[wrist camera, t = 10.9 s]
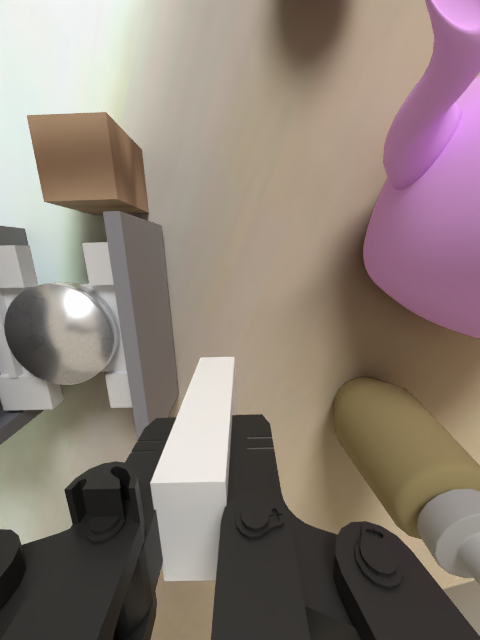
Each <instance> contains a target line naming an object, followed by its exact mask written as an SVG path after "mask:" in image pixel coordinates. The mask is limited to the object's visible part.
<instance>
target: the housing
mask: <svg viewBox="0 0 480 640" xmlns="http://www.w3.org/2000/svg"><path fill="white" fill-rule="evenodd" d="M5 245H23V246H28V242H27V238H26V233H25V229H22V228H14V227H5V226H0V246H5ZM0 375H1V374H0ZM42 411H43V410H5V411H4V410H3V406H2V403H1V399H0V444H2V443H3V442H4V441H5V440H7V439H8V438H9V437H10V436H12V435H13V434H14V433H16V432H17V431H18V430H19V429H21V428H22V427H23V426H24V425H26V424H27V423H28V422H29V421H31V420H32V419H33V418H35V417H36V416H37V415H38V414H40V413H41V412H42Z"/></svg>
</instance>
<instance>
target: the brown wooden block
mask: <svg viewBox="0 0 480 640" xmlns="http://www.w3.org/2000/svg"><path fill="white" fill-rule="evenodd" d="M27 119H28V124H29V129H30V134H31V139H32V144H33V149H34V154H35V159H36V164H37V169H38V174H39V179H40V184H41V189H42V194H43V198H44V202H48V203H51V204H55V205H59V206H63V207H67V208H70V209H74V210H78V211H82V212H85V213H89V214H93V215H95V214H103V212H107V211H121V212H124V213H149V211H148V202H147V193H146V184H145V175H144V166H143V157H142V149H141V148H140V147H139V146H138V145H137V144H136V143H135V142H134V141H133V140H132V139H131V138H130V137H129V136H128V135H127V134H126V133H125V132H124V131H123V130H122V129H121V127H120V126H119V125H118V124H117V123H116V122H115V121H114V120H113V119H112V118H111V117H110V116H109V115H108V114H107V113H106V112H100V113H75V114H50V115H27Z"/></svg>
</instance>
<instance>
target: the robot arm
mask: <svg viewBox="0 0 480 640" xmlns="http://www.w3.org/2000/svg"><path fill="white" fill-rule="evenodd" d="M236 414H237V408H236V382H235V357H206V358H200V360H199V363H198V365H197V368H196V370H195V373H194V375H193V378H192V380H191V383H190V385H189V388H188V390H187V393H186V395H185V398H184V400H183V403H182V405H181V408H180V410H179V413H178V415H177V418H156V419H155V420H153V421H152V422H151V423H150V424H149V425H148V426H146V427H145V428H144V430H143V432H142V434H141V435H140V437H139V439H138V442H137V443H136V444H135V446H134V448H133V450H132V453H131V454H130V455H129V457H128V458H127V460H126V462H125V463H123V462H110V463H104V464H101V465H99V466H96V467H94V468H91V469H89V470H87V471H86V472H84V473H83V474H81V475H80V476H78V477H77V478H75V479H74V480H73V481H72V483H71V484H70V485H69V486H68V487H67V488H66V489H65V494H66V498H67V502H68V507H69V511H70V515H71V519H72V523H73V525H72V526H71V528H70V529H68V530H66V531H63V532H61V533H58V534H55V535H52V536H49V537H46V538H43V539H39V540H36V541H33V542H30V543H27V544H24V545H21V542H20V539H19V536H18V535H17V534H16V533H15V532H13V531H12V530H3V529H0V640H150V639H151V635H152V630H153V626H154V622H155V618H156V607H157V599H156V593H155V590H156V586H157V582H158V578H159V574H160V570H161V566H162V570H163V577H164V581H211V580H216V585H215V597H214V609H213V621H212V633H211V640H480V636H479V635H478V634H477V632H476V631H475V630H474V629H473V627H472V626H471V625H470V624H469V623H468V621H467V620H466V619H465V618H464V616H463V615H462V614H461V612H460V611H459V610H458V609H457V607H456V606H455V605H454V604H453V602H452V601H451V600H450V599H449V597H448V596H447V595H446V593H445V592H444V591H443V590H442V588H441V587H440V586H439V585H438V583H437V582H436V581H435V580H434V578H433V577H432V576H431V575H430V573H429V572H428V571H427V570H426V568H425V567H424V566H423V564H422V563H421V562H420V561H419V559H418V558H417V557H416V556H415V554H414V553H413V552H412V551H411V550H410V549H409V548H408V547H407V546H406V545H405V544H404V543H403V542H402V541H401V540H400V539H399V538H398V537H397V536H396V535H395V534H393V533H391V532H390V531H388V530H387V529H385V528H383V527H382V526H379V525H376V524H372V523H369V522H366V521H364V522H351V523H350V524H348V525H346V526H345V527H343V528H341V530H340V532H339V534H338V535H337V534H333V533H330V532H327V531H324V530H321V529H318V528H315V527H313V526H310V525H308V524H306V523H304V522H303V521H301V520H300V519H298V518H297V517H296V516H295V515H294V514H293V513H292V512H291V511H290V510H289V509H288V507H287V505H286V504H285V502H284V500H283V497H282V493H281V488H280V482H279V476H278V470H277V464H276V458H275V452H274V446H273V440H272V433H271V427H270V424H269V422H268V421H267V420H266V419H265V417H264V416H263V415H262V414H261V415H236Z"/></svg>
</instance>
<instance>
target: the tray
mask: <svg viewBox="0 0 480 640" xmlns="http://www.w3.org/2000/svg"><path fill="white" fill-rule="evenodd" d="M103 217H104V223H105V230H106V237H107V242H95V243H82V246H83V252H84V257H85V263H86V269H87V275H88V280H89V284H79V285H82V286H84V287H86V288H88V289H90V290H92V291H94V292H95V293H96V294H98V295H99V296H100V297H101V298H103V299H104V300H105V301H106V303H107V304H108V305H109V306H110V308H111V309H112V311H113V312H114V314H115V316H116V319H117V321H118V325H119V329H120V343H119V348H118V351H117V353H116V355H115V357H114V359H113V360H112V361H111V363H110V364H109V365H108V366H106V367H105V368H104V369H103V370H102V371H100V372H108V373H106V374H105V378H106V384H107V390H108V395H109V401H110V407H111V408H129V407H132V409H133V416H134V422H135V429H136V436H137V442H138V439H139V437H140V435H141V434H142V432H143V430H144V428H145V427H146V426H148V425H149V424H150V423H151V422H152V421H153V420H155V419H156V418H168V416H169V414H170V411H171V409H172V407H173V405H174V403H175V400H176V398H177V396H178V384H177V374H176V364H175V353H174V343H173V333H172V323H171V313H170V303H169V293H168V283H167V273H166V263H165V253H164V243H163V233H162V226H161V225H158V224H155V223H152V222H150V221H147V220H144V219H141V218H138V217H135V216H132V215H130V214H127V213H124V212H121V211H107V212H103ZM34 286H38V282H37V278H36V273H35V269H34V264H33V260H32V255H31V251H30V246H23V245H5V246H0V374H1V375H0V399H1V403H2V406H3V410H4V411H5V410H46V409H54V408H55V407H56V406H58V405H59V404H60V403H61V402H63V401H64V399H63V394H62V390H61V385H60V384H54V383H50V382H47V381H44V380H42V379H40V378H38V377H36V376H34V375H33V374H31V373H30V372H29V371H27V370H26V369H25V368H24V367H23V366H22V365H21V364H20V363H19V362H18V361H17V360H16V358H15V357H14V355H13V354H12V352H11V350H10V348H9V346H8V343H7V341H6V337H5V330H4V321H5V316H6V312H7V310H8V307H9V306H10V304H11V302H12V301H13V300H14V299H15V297H16V296H18V295H19V294H20V293H21V292H23V291H24V290H26V289H28V288H31V287H34Z"/></svg>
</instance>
